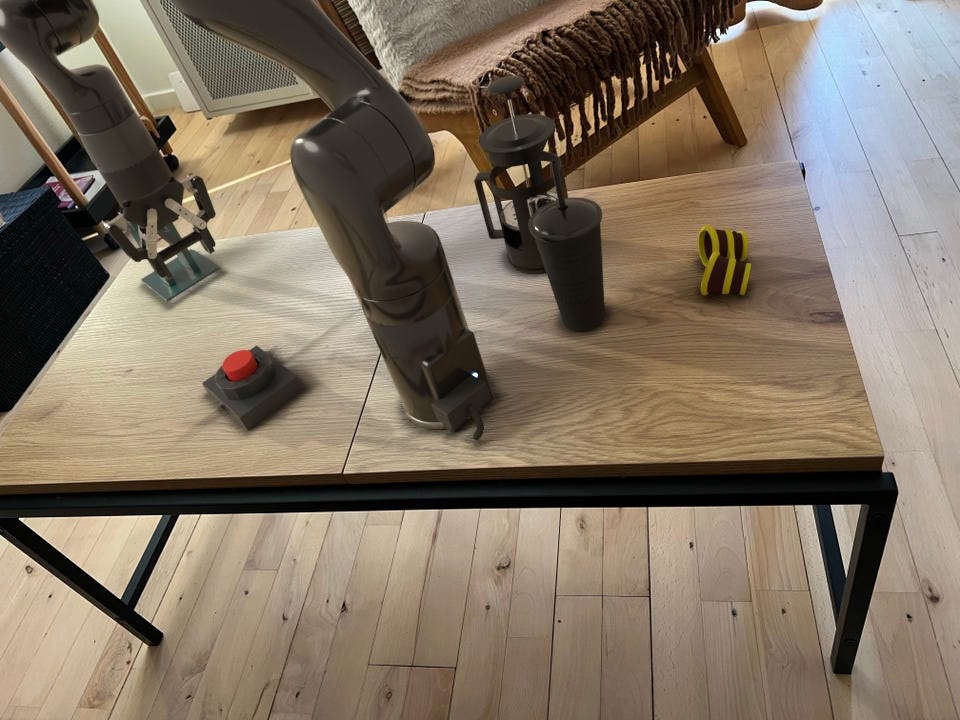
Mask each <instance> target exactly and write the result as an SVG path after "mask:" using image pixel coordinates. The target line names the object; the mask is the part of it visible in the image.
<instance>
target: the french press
mask: <svg viewBox="0 0 960 720" xmlns="http://www.w3.org/2000/svg"><path fill="white" fill-rule="evenodd" d="M524 84H525V79H524V77H522V76H519V75H507V76H502V77H500V78H498V79H494V81H492V82H490V83H489V84H488V86H487V89H486V91H487V92H488V93H489V94H492V95H503V98H504V100H505V101H507V103H508V108H509V113H510V117H507V118H504V119H501V120H499V121H497V122H495V123H492V124H491V125H490V126H488V127H487V128H486V129H484V131H482V133H481V134H480V136H479V138H478V144H479V147H480V149H481V150H483V152H485V157H486V160H487V161H488V162H489V163H490V164H491V165H493V166H492V168H491V169H490V171H480V172H477V173H476V176H475V178H474V180H473V181H474V187H475V190H476V194H477V199H478V201H479V205H480V210H481V212H482V216H483V219H484V224H485V226H486V227H485V228H486V230H487V235H488V237H489V239H490V240H502V239H503V241H504V246H505V250H506V259H507V262H508V265H509V266H510V267H511V268H512V269H514V270H516V271H518V272H520V273H524V274H531V275H532V274H534V275H535V274H544V273H546V270H545V267H544V264H543V261H542V258H541V255H540V252H539V249H538V246H537V243H536V240H535V238H534V236H533V235H532V234H531V233H530V230H529V226H528V224H529V220H530V217H531V216H532V214H533V213H534V212H535V211H536V210H538V209H539V208H540V207H542V206H544V205H545V204H548V203H550V202H552V201H555V200H558V198H557V193H556V191H551V190H553V189H555V183H554V177H553V175H552V176H551V177H549V178H548V179H545V175H544V169H543V164H542V162H547V163H551V162H552V161H557V162H558V167H559V172H560V177H561V183H562V188H563V193H564V198H569V193H568V187H567V182H566V178H565V173H564V167H563V162H562V159H561V158H560V155H557V154H556V153H554V152H551V151H547V150H545V148H546V145H547V143H548V140H549V139H550V138H551V137H552V136H553V134H554V133H555V131H556V124H555V121H554V120H553V119H552V118H551V117H549V116H547V115H545V114H539V113H525V114H517V115H515V113H514V109H513V103H512V99H513V98H514V97H513V92H514V91H516V90H518V89H520V88H521V87H522V86H523V85H524ZM526 165H527V167H526ZM520 166H522V171H523V175H524V180H525V184H526V187H524V188H523V187H522V188H513V189H512V188H511V189H510V188H503V187H499V186H498V184H497V178H498V177H499V175H501V174H502V173H503V172H505V171H507V170H509V169H510V168H514V167H520ZM527 168H528V172H529V177H530V179H529V177H528V172H527ZM483 182H488V183H489V187H490V191H491V193H492V196H493V200H494V204H495V209H496V212H497V217H498V220H499V224H500V227H501V228H500V229H495V226H494V224H493V220H492V216H491V212H490V208H489V204H488V200H487V197H486V193H485V188H484V186H483ZM530 182H531V186H530ZM501 199H504V200H510V201H509V202H508V203H507V204H506V205H505V206H504V207H503V203H502V200H501ZM521 246H523V249H519V248H520V247H521Z"/></svg>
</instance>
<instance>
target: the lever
mask: <svg viewBox="0 0 960 720" xmlns="http://www.w3.org/2000/svg"><path fill="white" fill-rule="evenodd" d="M157 236H159V237H160V238H161V239H163V240H164V241H165V242H166V243H167V244H168V246H167V247H165V248H163V249H161V250H160V251H157V254H159V255H160V256H161V258H162V259H163V261H164V263H166V262H167V261H168V260H170V259H172V258H173V257H175V256H177V254H178V253H180V252H182V251H183V250H185V249H187V248H188V249H189V248H191V246H193V245H195V244H197V243H198V242H200V240H201V239H202V238H201V236H200V235H199V233H198V232H197V231H196V230H195V231H194V230H193V231H192V232H190V233H188V234H187V235H185V236H183V237H181V238H182V239H180V240H179V239H178V238H176V237H175V236H174V235H173V234H172V233H170V232H169V231H168V230H167V229H166V228H163V229H161V230H159V231H158V230H157Z"/></svg>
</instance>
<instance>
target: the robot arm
mask: <svg viewBox="0 0 960 720" xmlns="http://www.w3.org/2000/svg"><path fill="white" fill-rule="evenodd" d="M169 1H170V3H171V4H172V5H173V6H174V7H175V8H176V9H177V10H178V12H179V13H181V14H182V15H183V16H184V17H185V18H186V19H188V20H189V21H190V22H192V23H193V24H195V25H197V26H198V27H199V28H201V29H203V30H206V32H209V33H211V34H212V35H215V36H217V37H219V38H220V39H223V40H225V41H227V42H229V43H231V44H233V45H236V46H238V47H240V48H243V49H244V50H247V51H249V52H252V53H254V54H256V55H259V56H261V57H263V58H265V59H267V60H270V61H272V62H273V63H276V64H278V65H279V66H281V67H283V68H284V69H286V70H287V71H289V72H291V73H292V74H293V75H295V76H296V77H297V78H298V79H299V80H300V81H302V82H303V83H305V84H306V85H307V87H309V88H310V89H311V90H312V91H314V93H315V94H316V96H318V97H319V98H320V99H321V100H322V101H323V102H324V103H325V105H326V106H327V107H328V108H329V109H330V110H331V111H330V112H329V113H327V114H326V115H324V116H322V117H321V119H319V120H317V121H316V122H314V123H312V124H311V125H309V126H308V127H306V128H305V129H304V130H302V131H301V132H299V133H298V134H297V135H296V136H295V137H294V139H293V141H292V142H291V144H290V145H291V146H290V149H289V150H290V153H289V155H290V165H291V169H292V171H293V175H294V178H295V180H296V184H297V186H298V188H299V190H300V192H301V194H302V196H303V198H304V200H305V201H306V202H305V203H306V204H307V206H308V208H309V209H310V212H311V214H312V216H313V217H314V220H315V222H316V223H317V225H318V227H319V230H320V231H321V234H322V236H323V237H324V239H325V242H326V244H327V246H328V248H329V250H330V252H331V253H332V256H333V257H334V259H335V260H336V263H337V264H338V265H339V267H340V268H341V270H342V271H343V272H344V274H345V275H346V277H347V278H348V280H349V282H350V284H351V287H352V290H353V292H354V294H355V296H356V298H357V300H358V303H359V305H360V308H361V310H362V312H363V315H364V317H365V320H366V322H367V324H368V327H369V329H370V331H371V334H372V336H373V338H374V341H375V343H376V345H377V348H378V350H379V352H380V355H381V357H382V359H383V361H384V362H383V363H384V364H385V366H386V368H387V371H388V374H389V375H390V378H391V380H392V383H393V385H394V387H395V389H396V391H397V394H398V396H399V398H400V401H401V404H402V408H403V411H404V413H405V415H406V417H407V418H408V420H409V421H410V422H411V423H412V424H414V425H415V426H418V427H420V428H423V429H428V430H448V431H449V432H451V433H454V432H456V431H457V430H458V429H459V428H460V427H462V426H463V425H464V424H465V423H466V422H468V421H469V420H470V419H473V421H474V423H475V426H476V430H475V432H474V433H473V435H472V439H473V440H474V441H479V440H481V437H482V436H483V434H484V431H485V425H484V422H483V419H482V417H481V416H480V414H479V412H480V411H481V410H482V409H483V408H484V407H485V406H486V405H488V404H489V403H490V402H491V401H492V400H494V398H495V396H494V392H493V388H492V387H491V382H490V379H489V377H488V376H489V375H488V374H487V371H486V367H485V365H484V361H483V358H482V354H481V351H480V349H479V348H480V347H479V345H478V342H477V339H476V335H475V333H474V331H473V330H471V329H470V328H469V326H468V322H467V319H466V316H465V312H464V309H463V307H462V304H461V303H462V302H461V300H460V297H459V294H458V291H457V288H456V285H455V281H454V278H453V275H452V272H451V268H450V265H449V263H448V260H447V256H446V253H445V249H444V246H443V243H442V241H441V238H440V236H439V234H438V233H437V231H436V230H435V229H434V228H433V227H431V226H429V225H428V224H426V223H423V222H419V221H413V220H398V221H391V222H388V223H386V222H385V219H384V216H383V214H384V213H387V212H388V211H390V210H391V209H392V208H394V207H395V206H396V205H398V204H399V203H400V202H401V201H402V200H404V199H405V198H406V197H407V196H409V195H410V194H411V193H412V192H414V191H415V190H417V188H419V187H420V186H422V185H423V184H424V183H425V182H426V181H427V180H428V179H429V178H430V177H431V176H432V174H433V172H434V168H435V165H436V155H435V154H436V153H435V149H434V145H433V143H432V140H431V137H430V135H429V133H428V131H427V129H426V127H425V125H424V123H423V122H422V120H421V119H420V118H419V116H418V115H417V113H416V112H415V110H414V109H413V108H412V107H411V106H410V104H409V103H408V101H407V100H406V99H405V98H404V97H403V96H402V95H401V94H400V92H399V91H398V90H397V89H396V88H395V87H394V86H393V85H392V84H391V83H390V81H389V80H388V79H387V78H386V77H385V76H384V75H383V74H382V73H381V72H380V71H379V70H378V69H377V68H376V67H375V66H374V65H373V64H372V63H371V61H369V59H368V58H367V57H365V55H363V53H362V52H361V51H360V50H359V49H358V48H357V47H356V46H355V44H353V43H352V42H351V41H350V39H349V38H348V37H347V36H346V35H345V34H344V33H343V32H342V31H341V30H340V29H339V28H338V26H336V24H335V23H334V22H333V21H332V20H331V19H330V17H328V15H327V14H326V12H324V10H322V8H321V7H320V6H319V5H318V3H317V2H316V1H315V0H169ZM99 24H100V15H99V12H98V8H97V6H96V4H95V3H94V0H0V42H1V43H2V45H3V46H4V47H5V49H7V50H8V51H9V52H10V53H11V54H12V55H13V57H15V59H17V60H18V61H19V62H20V63H21V64H22V65H24V67H25V68H27V70H29V71H30V72H31V74H33V75H34V77H36V78H37V80H38V81H40V82H41V84H42V85H43V86H44V87H45V88H46V89H47V91H49V93H50V94H51V95H52V96H53V97H54V98H55V100H56V101H57V103H59V105H60V107H61V109H62V110H63V112H64V113H65V115H66V116H67V118H68V119H69V121H70V123H71V124H72V127H73V128H74V129H75V131H76V132H77V134H78V136H79V138H80V140H81V142H82V144H83V147H84V149H85V151H86V153H87V154H88V155H89V158H90V161H91V163H92V164H93V166H94V167H96V169H97V170H98V173H99V174H100V175H101V178H103V180H104V182H105V184H106V185H107V186H108V188H109V190H110V191H111V193H112V194H113V195H112V196H114V198H115V199H116V201H117V204H118V205H119V212H120V213H121V214H120V215H119V214H118V215H117V216H115V217H114V218H113V219H111V220H109V219H106V220H103V222H102V229H104V230H105V232H107V234H108V235H109V236H110V237H111V238H112V239H113V241H114V242H115V244H117V245H118V247H119V248H120V249H121V250H122V251H123V252H124V253H125V255H126V256H127V257H128V258H130V259H131V260H132V261H133V262H135V263H140V262H142V261H144V260H147V262H148V264H149V265H150V266H151V268H152V270H153V272H154V271H155V273H156V274H158V275H159V276H160V277H162V278H164V277H165V278H167V279H168V280H169V279H170V278H172V277H173V276H172V274H171V273H170V271H169V269H168V268H167V266H166V264H167V263H166V262H164V261H163V259H162V258H161V256H160V255H159V254H157V253H158V244H157V242H158V240H159V237H158V236H159V235H158V234H157V230H158V231H159V230H161V229H163V228H164V227H165V226H166V225H167V224H168V223H172V222H173V223H175V222H176V221H178V220H179V219H180V218H182V219H184V220H185V221H187V222H188V223H190V224H191V225H192V226H193V227H192V230H193V231H195V230H196V231H197V232H198V233H199V235H200V236H201V238H202V239H201V240H200V241H199V243H200V244H201V247H202V248H203V250H204V251H205V252H207V254H209V255H211V254H213V253H214V252H216V250H215V248H216V245H217V244H216V241H215V239H214V237H213V235H212V233H211V232H210V230H209V228H208V223H209V221H210V220H213V219H215V217H216V215H217V214H216V210H215V208H214V206H213V202H212V199H211V196H210V194H209V192H208V189H207V186H206V184H205V181H204V179H203V178H202V177H200V176H199V175H197V174H195V173H193V172H191V173H188V174H187V176H186V177H185V178H183V179H180V180H177V179H176V178H175V176H174V175H173V173H172V172H171V170H170V167H169V166H168V164H167V163H166V160H165V159H164V157H163V155H162V153H161V152H160V150H159V148H158V146H157V144H156V142H155V140H154V139H153V137H152V136H151V133H150V132H149V130H148V128H147V126H146V124H145V123H144V122H143V121H142V119H141V117H140V116H139V115H138V114H137V112H136V110H135V109H134V107H133V105H132V103H131V102H130V100H129V97H127V95H126V92H125V90H124V89H123V88H122V86H121V84H120V82H119V80H118V79H117V77H116V75H115V73H113V71H112V70H111V68H109V67H108V66H107V65H104V64H98V63H97V64H89V65H84V66H80V67H77V68H76V67H75V68H72V69H69V68H68V67H66V66H65V65H64V64H62V62H61V61H60V60H59V58H58V57H59V56H61V55H63V54H65V53H67V52H69V51H71V50H72V49H74V48H77V47H79V46H81V45H82V44H85V43H87V42H88V41H90V40H91V39H92V38H93V37H94V36H95V35H96V33H97V31H98V28H99V26H100V25H99ZM185 190H186V191H187V192H188V193H189V194H192V195H193V198H194V201H195V202H196V206H197V208H198V212H197V214H194V213H193V212H192V211H190V210H189V209H188V208H186V207H185V206H183V202H184V193H185ZM179 217H180V218H179ZM127 221H129V222H131V223H134V224H136V225H138V233H139V236H140V243H141V247H136V246H135V245H134V244H133V243H132V242H131V240H130V239H129V238H128V237H127V236H126V235H127V233H128V231H127V228H126V222H127Z"/></svg>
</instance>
